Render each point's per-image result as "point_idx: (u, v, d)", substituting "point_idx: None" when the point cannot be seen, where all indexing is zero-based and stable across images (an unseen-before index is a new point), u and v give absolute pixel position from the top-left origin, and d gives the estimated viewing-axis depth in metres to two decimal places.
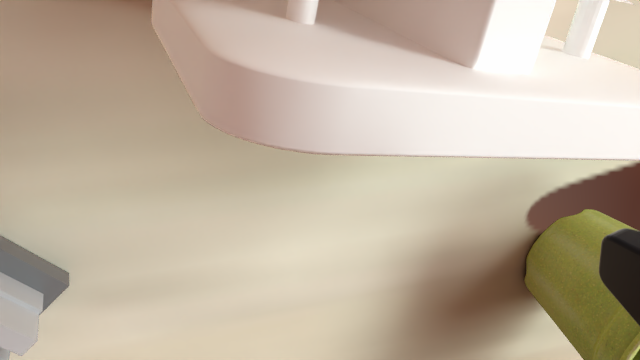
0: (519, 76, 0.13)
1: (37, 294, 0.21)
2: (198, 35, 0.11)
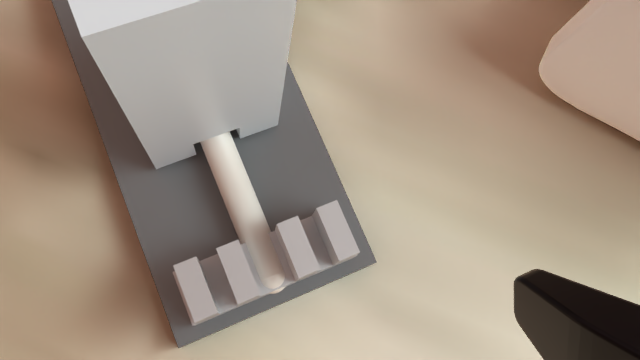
0: None
1: None
2: None
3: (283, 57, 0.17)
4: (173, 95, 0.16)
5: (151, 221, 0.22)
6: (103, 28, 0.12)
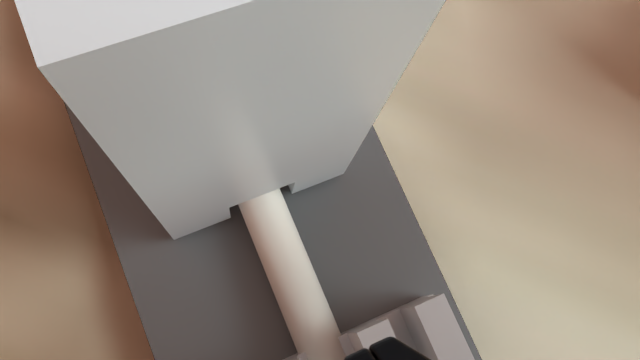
0: None
1: None
2: None
3: (388, 88, 0.11)
4: (212, 153, 0.10)
5: (167, 316, 0.15)
6: (85, 46, 0.06)
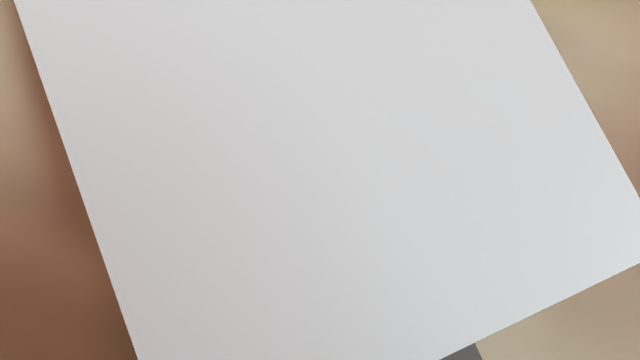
0: None
1: None
2: None
3: None
4: None
5: None
6: None
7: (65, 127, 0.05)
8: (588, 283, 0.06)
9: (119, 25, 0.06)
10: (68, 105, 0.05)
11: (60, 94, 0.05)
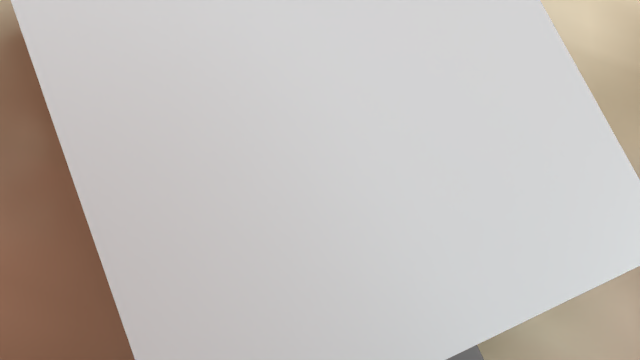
0: None
1: None
2: None
3: None
4: None
5: None
6: None
7: (61, 122, 0.05)
8: (596, 282, 0.05)
9: (116, 17, 0.05)
10: (64, 100, 0.05)
11: (56, 88, 0.05)
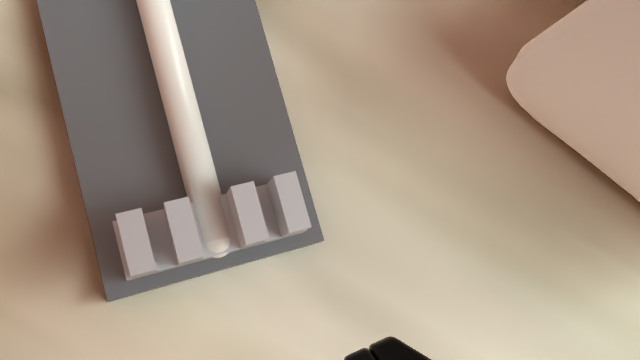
0: None
1: None
2: None
3: None
4: None
5: (96, 166, 0.20)
6: None
7: None
8: None
9: None
10: None
11: None
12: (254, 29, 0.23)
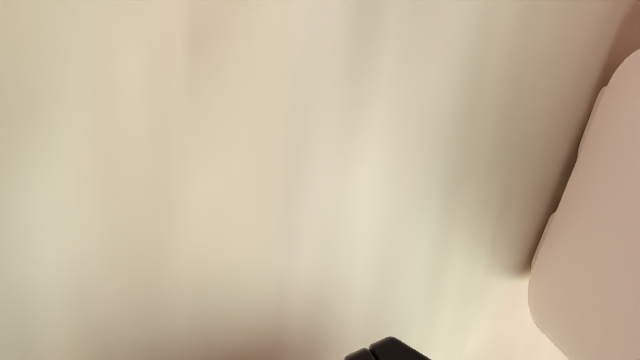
0: None
1: None
2: None
3: None
4: None
5: None
6: None
7: None
8: None
9: None
10: None
11: None
12: None
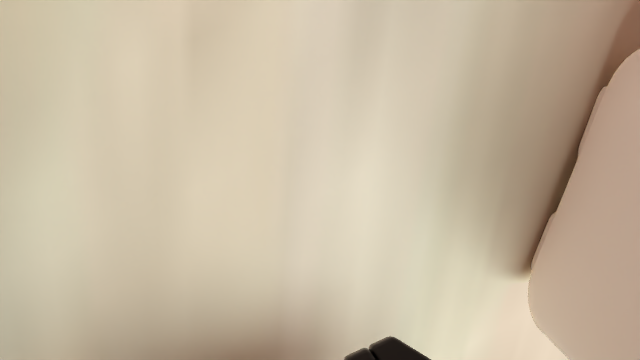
0: None
1: None
2: None
3: None
4: None
5: None
6: None
7: None
8: None
9: None
10: None
11: None
12: None
